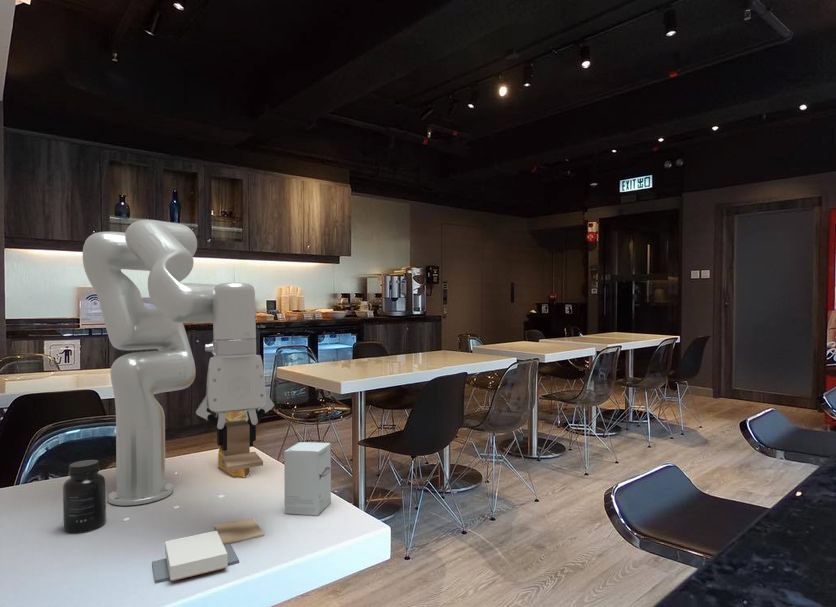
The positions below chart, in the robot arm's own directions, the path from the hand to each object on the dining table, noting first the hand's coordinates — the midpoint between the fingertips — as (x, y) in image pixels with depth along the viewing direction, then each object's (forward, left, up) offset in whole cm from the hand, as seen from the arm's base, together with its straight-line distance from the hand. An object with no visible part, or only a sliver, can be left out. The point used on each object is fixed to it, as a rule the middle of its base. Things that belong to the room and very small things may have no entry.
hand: (236, 446), depth 98 cm
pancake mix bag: (-38, +7, -15) cm, 42 cm away
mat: (+11, -9, -15) cm, 21 cm away
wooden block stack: (+2, 0, -2) cm, 3 cm away
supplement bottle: (-16, -25, -15) cm, 33 cm away
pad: (+2, 0, -15) cm, 15 cm away
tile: (+6, -9, -13) cm, 17 cm away
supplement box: (-2, +14, -15) cm, 21 cm away
